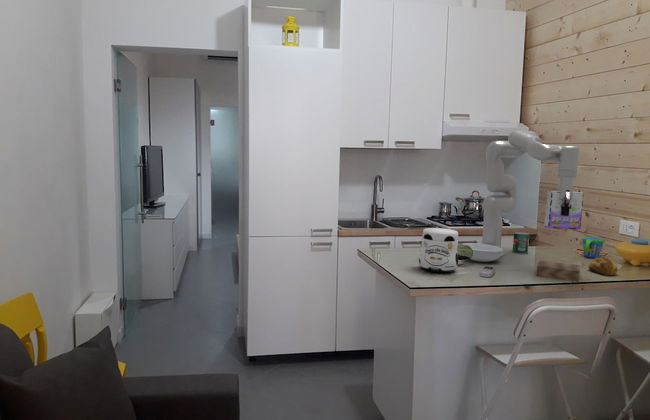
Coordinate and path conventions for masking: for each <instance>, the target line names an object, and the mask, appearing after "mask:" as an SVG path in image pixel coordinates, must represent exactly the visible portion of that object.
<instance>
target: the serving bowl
mask: <svg viewBox="0 0 650 420" xmlns="http://www.w3.org/2000/svg"><path fill="white" fill-rule="evenodd" d="M462 244H463V245H468V246H470V247H471V248H472V250H473V257H472V258H471V260H470V261H474V262H478V263H487V262H488V263H489V262H492V261H493V262H494V261H496V260H498V259H500V257H502V256H501V254H502V253H503V248H500V247H497V246H492V245H487V244H482V243H479V242H478V243H476V242H466V243H465V242H464V243H462Z"/></svg>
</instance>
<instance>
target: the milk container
mask: <svg viewBox="0 0 650 420" xmlns="http://www.w3.org/2000/svg"><path fill="white" fill-rule="evenodd" d="M422 230H423V231H422V240H421V250H420V253H419V256H418V263H419V267H421V268H422V269H423V270H425V271H429V272H435V273H451V272H454V271H456V270H457V268H458V265H459V256H458V255H459V254H458V246H459V241H458V240H459V232H458V231H457V230H454V229H450V228H442V227H441V228H440V227H429V228H428V227H426V228H423V229H422Z"/></svg>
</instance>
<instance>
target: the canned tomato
mask: <svg viewBox="0 0 650 420" xmlns="http://www.w3.org/2000/svg"><path fill="white" fill-rule="evenodd" d="M529 240H530V232H525V231H514V232H513V240H512V252H511V253H513V254H516V253H517V254H519V255H528V251H529Z"/></svg>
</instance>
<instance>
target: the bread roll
mask: <svg viewBox="0 0 650 420" xmlns="http://www.w3.org/2000/svg"><path fill="white" fill-rule="evenodd" d="M588 270H589V271H591V272H594V273H597V274H599V275H602V276H613V275H616V274H617V273H618V271H619V269H618V265H617V264H616V262H614V261H613V260H611V259H609V258H603V257H599V258H593V259H592V260H591V262H590V263H589V264H588Z"/></svg>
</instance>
